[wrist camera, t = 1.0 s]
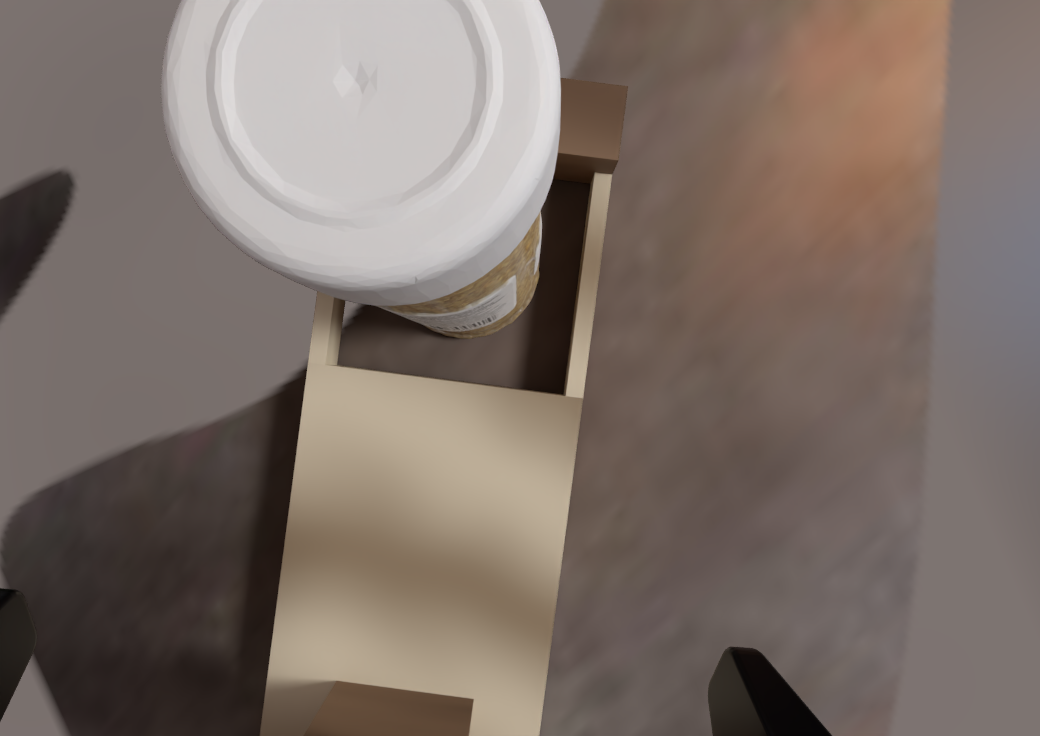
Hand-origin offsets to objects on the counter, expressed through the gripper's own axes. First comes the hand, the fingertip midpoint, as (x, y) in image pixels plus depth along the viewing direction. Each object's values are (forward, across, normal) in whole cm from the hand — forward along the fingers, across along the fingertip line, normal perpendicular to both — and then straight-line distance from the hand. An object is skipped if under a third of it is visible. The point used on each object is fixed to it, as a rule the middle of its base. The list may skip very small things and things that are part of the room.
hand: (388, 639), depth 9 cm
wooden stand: (+11, 0, +5) cm, 12 cm away
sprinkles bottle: (+14, 0, 0) cm, 14 cm away
